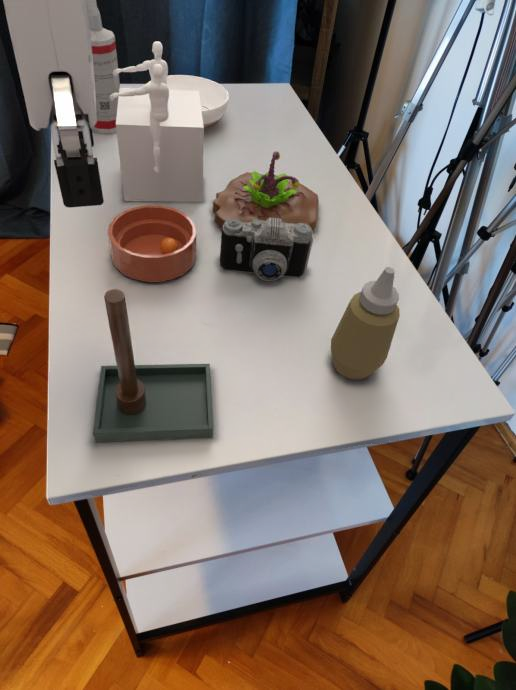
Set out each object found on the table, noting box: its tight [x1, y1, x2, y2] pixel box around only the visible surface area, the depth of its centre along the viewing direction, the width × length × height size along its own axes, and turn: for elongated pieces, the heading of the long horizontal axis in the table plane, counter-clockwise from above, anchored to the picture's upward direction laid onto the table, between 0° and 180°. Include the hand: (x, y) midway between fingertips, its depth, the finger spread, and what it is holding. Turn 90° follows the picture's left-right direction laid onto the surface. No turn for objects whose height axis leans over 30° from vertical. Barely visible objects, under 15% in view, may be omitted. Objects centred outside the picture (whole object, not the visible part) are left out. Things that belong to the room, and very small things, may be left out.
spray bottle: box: [86, 0, 121, 134], centre depth 101 cm, size 8×8×25 cm
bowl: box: [146, 74, 230, 128], centre depth 114 cm, size 20×20×6 cm
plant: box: [212, 151, 319, 232], centre depth 91 cm, size 20×20×11 cm
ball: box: [160, 238, 179, 254], centre depth 82 cm, size 3×3×3 cm
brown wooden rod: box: [103, 288, 146, 415], centre depth 56 cm, size 4×4×19 cm
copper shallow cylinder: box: [107, 204, 197, 283], centre depth 81 cm, size 14×14×6 cm
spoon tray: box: [92, 363, 214, 443], centre depth 63 cm, size 14×10×2 cm
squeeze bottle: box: [330, 266, 400, 381], centre depth 65 cm, size 8×8×18 cm
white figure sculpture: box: [110, 40, 205, 203], centre depth 88 cm, size 15×18×25 cm
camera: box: [219, 217, 314, 282], centre depth 79 cm, size 15×7×10 cm, turn 88°
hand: (80, 173), depth 44 cm, fingers open, 9 cm apart
